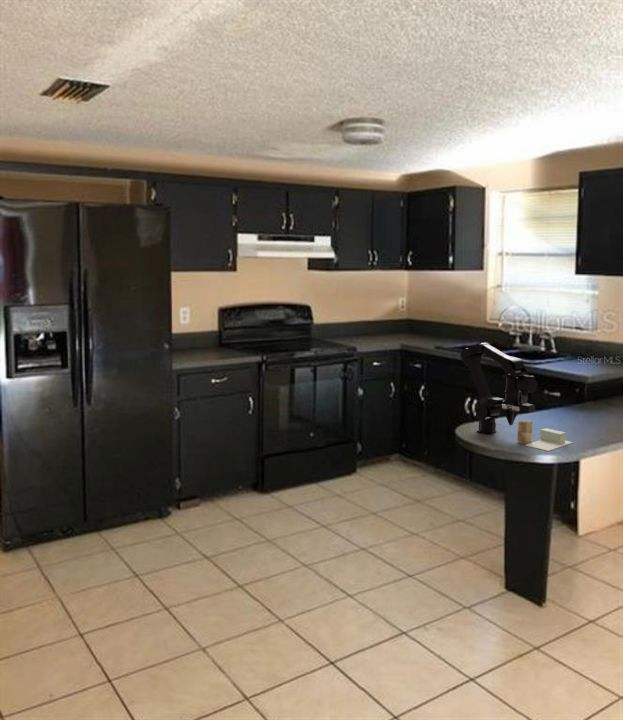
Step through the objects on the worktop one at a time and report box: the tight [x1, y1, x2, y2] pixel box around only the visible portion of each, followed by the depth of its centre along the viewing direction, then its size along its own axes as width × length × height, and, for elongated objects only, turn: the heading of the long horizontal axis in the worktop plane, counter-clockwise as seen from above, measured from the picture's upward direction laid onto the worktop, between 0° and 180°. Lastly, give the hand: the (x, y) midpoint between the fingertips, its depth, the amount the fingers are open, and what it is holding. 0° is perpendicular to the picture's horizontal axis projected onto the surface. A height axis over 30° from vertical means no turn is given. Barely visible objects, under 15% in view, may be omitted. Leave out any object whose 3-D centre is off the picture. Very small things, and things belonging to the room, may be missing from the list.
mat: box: [524, 439, 574, 452], centre depth 284 cm, size 10×19×1 cm, turn 131°
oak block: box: [517, 419, 533, 445], centre depth 286 cm, size 4×4×9 cm
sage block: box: [539, 427, 567, 443], centre depth 288 cm, size 4×4×9 cm
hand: (510, 425), depth 291 cm, fingers closed
